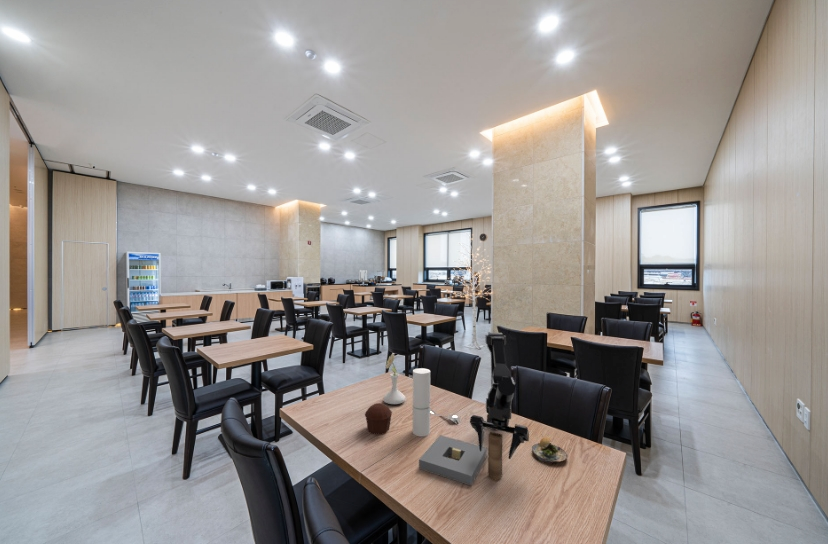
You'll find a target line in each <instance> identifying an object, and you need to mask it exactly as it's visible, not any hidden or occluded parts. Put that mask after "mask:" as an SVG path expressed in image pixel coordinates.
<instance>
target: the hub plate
mask: <svg viewBox="0 0 828 544" xmlns="http://www.w3.org/2000/svg"><path fill="white" fill-rule="evenodd" d="M449 456H450V457H449ZM487 457H488V447H486V446H483V447H482V451H480V449H479V444H475V443H471V442H467V441H464V440H460V439H455V438H452V437H449V436H445V435H442V434H441V435H439V436H438V437H437V438H436V440H435V441H434V442H433V443H432V444H431V445H430V446H429V448H427V450H425V452H424V453H423V454H422V456H421V457H420V458H419V459H418V469H419V470H421V471H425V472H428V473H431V474H434V475H438V476H440V477H443V478H447V479H449V480H453V481H456V482H458V483H461V484H465V485H468V486H473V484H474V481H475V480H476V477H477V476H478V474H479V472H480V471H481V468H482V466H483V464H484V462H485V460H486V458H487Z"/></svg>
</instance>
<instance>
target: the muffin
mask: <svg viewBox="0 0 828 544" xmlns="http://www.w3.org/2000/svg"><path fill="white" fill-rule="evenodd" d="M392 414H393V411H392V410H391V409H390V408H389V407H388V405H387V404H384V403H381V402H379V403H374V404H372V405H371V406H369V407H368V408H367V410H366V411H365V413H364V416H365V420H366V426H367V430H368V431H367V432H368V433H369V434H371V435H378V436H379V435H383V434H387V432H388V431H389V430H390V426H391V420H392Z"/></svg>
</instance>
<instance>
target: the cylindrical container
mask: <svg viewBox="0 0 828 544" xmlns="http://www.w3.org/2000/svg"><path fill="white" fill-rule="evenodd" d="M430 409H431V370H430V369H428V368H423V367H421V368H415V369H413V370H412V435H414V436H417V437H427V436H429V435H430V434H431V414H430Z"/></svg>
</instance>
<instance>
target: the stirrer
mask: <svg viewBox="0 0 828 544" xmlns="http://www.w3.org/2000/svg"><path fill="white" fill-rule="evenodd" d="M431 414H432V415H433V416H437V417H439V416H440V417H445V418H448V419H449V420H451V421H452V422H453V423H454V424H456V425H459V424H461V418H460V417H459V416H458V415H457V414H448V415H445V414H443V415H442V414H438V413H436V412H435V411H434V410H433V409H431V408H430V415H431Z"/></svg>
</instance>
